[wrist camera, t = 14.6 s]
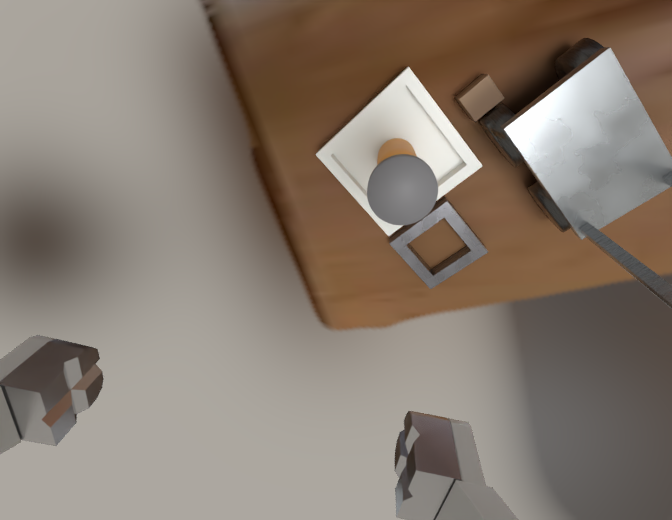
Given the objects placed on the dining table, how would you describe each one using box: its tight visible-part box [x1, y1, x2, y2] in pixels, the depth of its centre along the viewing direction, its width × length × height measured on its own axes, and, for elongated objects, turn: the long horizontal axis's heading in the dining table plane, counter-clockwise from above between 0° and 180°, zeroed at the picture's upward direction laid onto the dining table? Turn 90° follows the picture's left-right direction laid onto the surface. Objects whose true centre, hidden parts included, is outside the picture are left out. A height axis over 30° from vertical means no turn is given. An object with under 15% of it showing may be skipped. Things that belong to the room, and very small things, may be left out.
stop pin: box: [367, 138, 438, 225], centre depth 31 cm, size 5×5×12 cm
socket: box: [389, 197, 488, 289], centre depth 40 cm, size 7×7×2 cm
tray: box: [316, 67, 482, 236], centre depth 36 cm, size 11×11×2 cm
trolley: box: [480, 38, 672, 308], centre depth 26 cm, size 13×9×19 cm
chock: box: [454, 74, 504, 122], centre depth 33 cm, size 2×3×2 cm
